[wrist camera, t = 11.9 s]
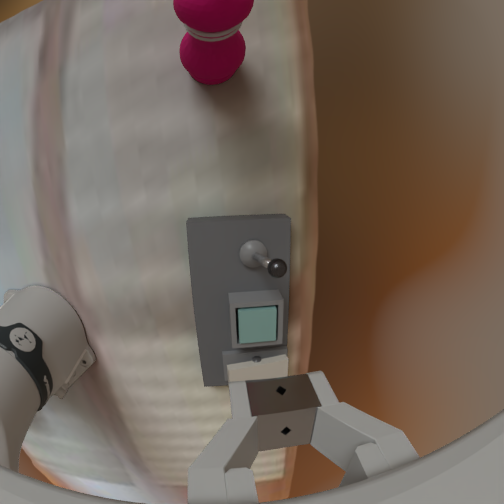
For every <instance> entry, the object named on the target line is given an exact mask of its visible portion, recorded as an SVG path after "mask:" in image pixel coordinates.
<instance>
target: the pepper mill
mask: <svg viewBox="0 0 504 504" xmlns="http://www.w3.org/2000/svg"><path fill="white" fill-rule="evenodd" d="M253 2H254V0H174V2H173V5H174V10H175V12H176V15H177V16H178V18H179V19H180V21H182V22H183V23H184V26H185V29H186V30H187V33H186V34H185V36H184V37H183V39H182V42H181V44H180V59H181V62H182V64H183V66H184V67H185V69H186V70H187V71H188V72H189V73H190V75H191V76H192V77H193V78H194V79H195V80H197V81H198V82H200V83H203V84H209V85H214V84H220V83H222V82H225V81H226V80H228V79H229V78H230V77H231V76H232V75H233V74H234V73H235V71H236V70H237V69H238V68H239V66H240V65H241V64H242V62H243V60H244V57H245V49H246V46H245V41H244V39H243V36H242V34H241V33H240V31H239V28H240V26H241V24H242V21H243V20H244V19H245V18H246V17H247V16H248V15H249V13H250V11H251V9H252V7H253Z"/></svg>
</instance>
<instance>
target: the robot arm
mask: <svg viewBox="0 0 504 504" xmlns="http://www.w3.org/2000/svg"><path fill="white" fill-rule="evenodd" d="M84 360H85V361H86V362H85V361H84ZM95 360H96V357H95V354H94V353H93V351H92V349H91V348H90V346H89V345H88V343H87V340H86V335H85V331H84V328H83V325H82V323H81V321H80V319H79V317H78V315H77V313H76V312H75V310H74V309H73V308H72V307H71V305H70V304H69V303H68V302H67V301H66V300H65V299H64V298H63V297H61V296H60V295H59V294H57V293H56V292H54V291H53V290H51V289H48V288H46V287H42V286H29V287H26V288H24V289H22V290H19V291H18V290H8V291H7V292H6V293H5V294H4V304H3V305H2V306H1V307H0V504H144V503H135V502H128V501H121V500H115V499H109V498H103V497H98V496H94V495H89V494H85V493H80V492H76V491H72V490H69V489H65V488H61V487H58V486H55V485H51V484H48V483H45V482H42V481H39V480H36V479H34V478H31V477H28V476H25V475H23V474H20V473H19V472H18V469H19V468H18V467H19V455H20V450H21V446H22V443H23V441H24V438H25V436H26V433H27V431H28V429H29V426H30V424H31V422H32V420H33V418H34V416H35V414H36V412H37V411H39V410H41V409H42V407H43V406H44V405H45V404H46V402H47V401H48V399H49V398H50V397H51V396H52V395H57V396H58V397H59V398H60V399H63V397H64V396H65V394H66V393H67V391H68V388H69V387H70V386H71V385H72V384H73V383H74V382H75V381H76V380H77V379H78V378H79V377H80V376H81V375H82V374H83V373H84V372H85V371H86V370H87V369H88V368H89V367H90V366H91V365H92V364H93V363H94V361H95ZM229 391H230V402H231V412H232V419H227V420H226V422H225V423H224V424H223V426H222V427H221V428H220V430H219V431H218V432H217V434H216V435H215V436H214V437H213V439H212V440H211V441H210V442H209V444H208V445H207V446H206V447H205V449H204V450H203V451H202V452H201V454H200V455H199V456H198V457H197V459H196V460H195V461H194V462H193V463H192V465H191V466H190V467H189V468H188V504H504V409H503V410H502V411H500V412H499V413H497V414H496V415H495V416H493V417H492V418H490V419H489V420H487V421H486V422H484V423H483V424H481V425H480V426H478V427H476V428H475V429H473V430H472V431H470V432H468V433H466V434H465V435H463V436H461V437H460V438H458V439H456V440H454V441H453V442H451V443H449V444H447V445H445V446H443V447H441V448H440V449H438V450H435V451H433V452H432V453H430V454H427V455H425V456H423V457H421V458H420V457H419V455H418V454H417V452H416V451H415V449H414V448H413V446H412V445H411V443H410V442H409V440H408V439H407V437H406V436H405V434H404V433H403V431H402V430H400V429H397V428H395V427H393V426H391V425H389V424H387V423H384V422H382V421H380V420H378V419H376V418H374V417H372V416H370V415H368V414H366V413H364V412H362V411H360V410H358V409H356V408H354V407H352V406H350V405H348V404H346V403H345V402H341V403H339V401H338V399H337V398H336V396H335V394H334V392H333V390H332V388H331V386H330V384H329V383H328V381H327V379H326V377H325V375H324V373H323V372H322V371H317V372H311V373H306V374H300V375H294V376H286V377H279V378H270V379H258V380H245V381H232V382H229ZM309 443H311V445H312V446H313V447H314V448H316V449H317V450H318V451H319V452H321V453H322V454H323V455H324V456H326V457H327V458H328V459H330V460H331V461H332V462H334V463H335V464H336V465H338V466H339V467H340V468H342V469H343V470H345V471H346V473H345V475H344V477H343V479H342V481H341V484H340V486H339V487H338V488H335V489H331V490H327V491H323V492H319V493H315V494H310V495H305V496H300V497H295V498H289V499H283V500H277V501H270V502H262V503H259V502H258V497H257V491H256V486H255V481H254V476H253V471H252V470H250V467H251V465H252V464H253V462H254V460H255V458H256V456H257V454H258V451H265V450H271V449H278V448H283V447H291V446H297V445H304V444H309Z"/></svg>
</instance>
